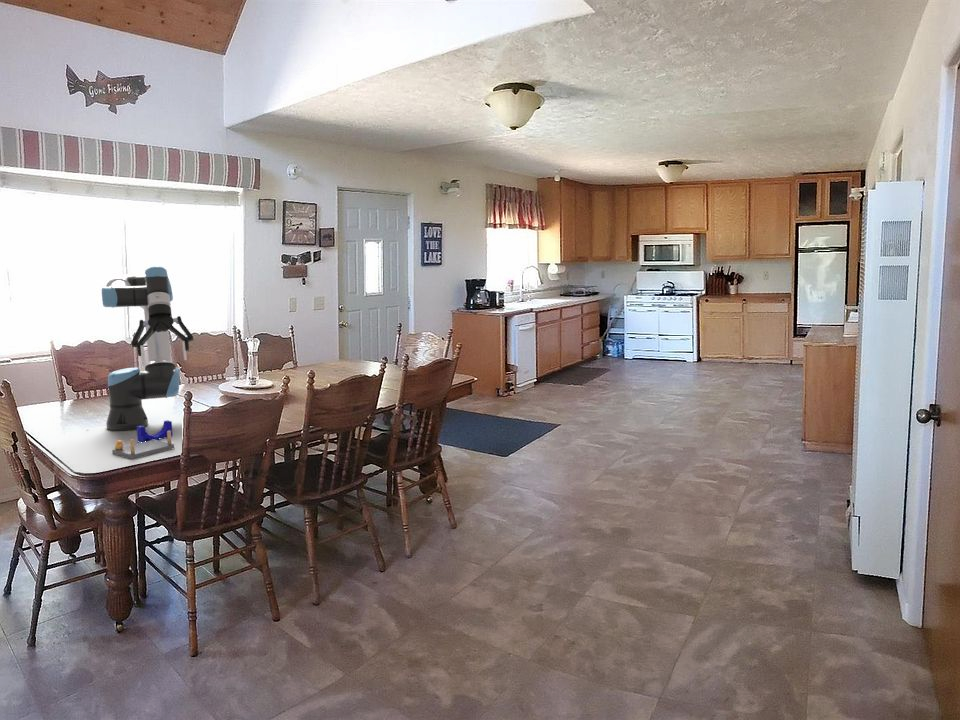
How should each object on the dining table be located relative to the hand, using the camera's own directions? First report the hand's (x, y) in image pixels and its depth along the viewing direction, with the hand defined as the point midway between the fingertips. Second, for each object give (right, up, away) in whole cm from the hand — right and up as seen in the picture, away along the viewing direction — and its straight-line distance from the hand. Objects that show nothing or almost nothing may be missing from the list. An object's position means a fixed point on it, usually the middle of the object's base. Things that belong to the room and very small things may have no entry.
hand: (164, 361), depth 251 cm
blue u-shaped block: (-12, -30, +20) cm, 37 cm away
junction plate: (-9, -32, +3) cm, 33 cm away
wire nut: (-16, -31, 0) cm, 35 cm away
